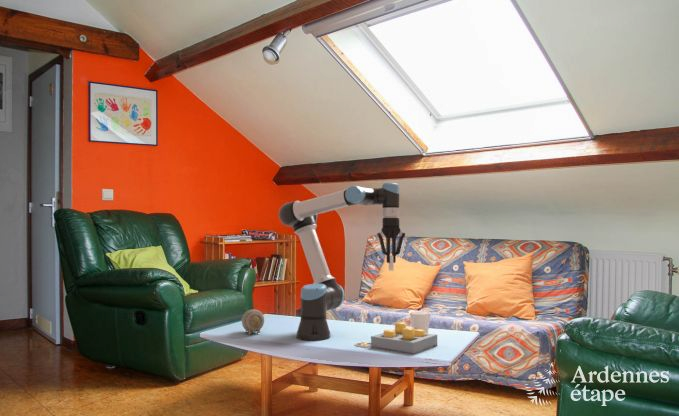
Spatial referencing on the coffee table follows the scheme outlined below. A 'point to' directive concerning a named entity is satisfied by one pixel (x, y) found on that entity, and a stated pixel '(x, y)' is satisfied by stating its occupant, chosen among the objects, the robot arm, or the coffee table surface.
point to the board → (404, 343)
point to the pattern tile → (363, 344)
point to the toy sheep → (253, 321)
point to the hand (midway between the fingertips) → (391, 270)
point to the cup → (420, 320)
